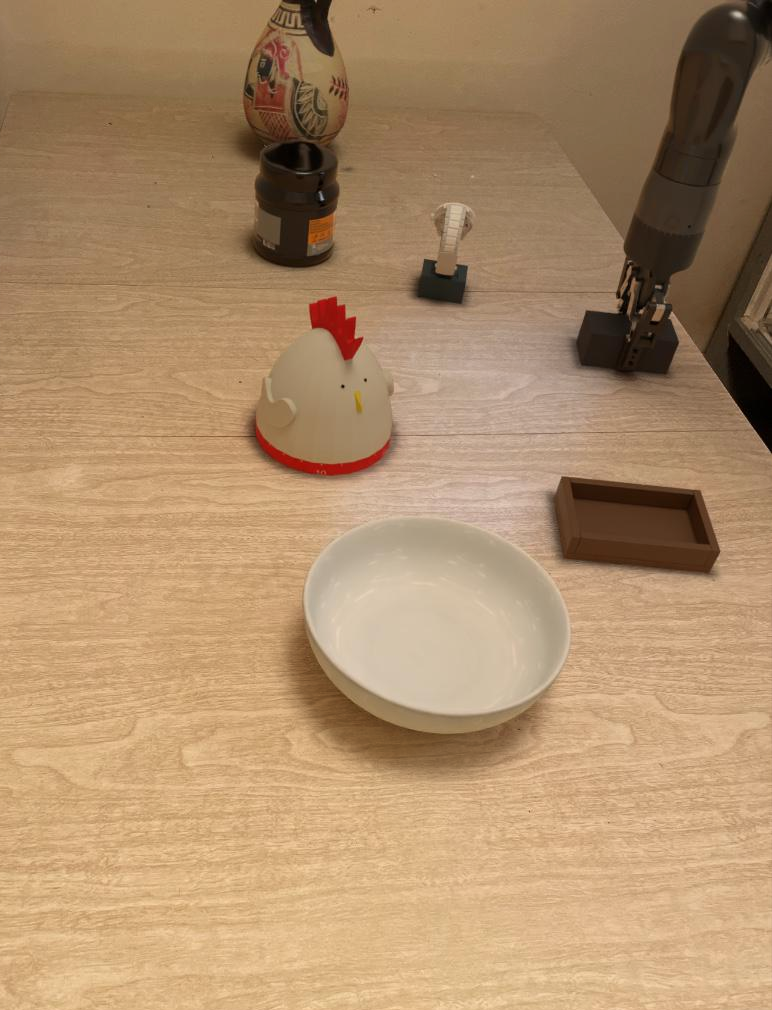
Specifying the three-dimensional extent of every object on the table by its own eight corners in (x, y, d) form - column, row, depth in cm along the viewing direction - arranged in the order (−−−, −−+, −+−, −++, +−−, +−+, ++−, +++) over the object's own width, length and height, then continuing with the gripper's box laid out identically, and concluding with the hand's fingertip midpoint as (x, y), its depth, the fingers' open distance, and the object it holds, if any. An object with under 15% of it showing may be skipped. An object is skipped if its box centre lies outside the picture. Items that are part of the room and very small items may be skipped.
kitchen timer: (297, 492, 92) (308, 357, 81) (231, 413, 100) (234, 280, 89) (415, 453, 98) (441, 322, 87) (345, 381, 105) (360, 252, 94)
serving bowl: (493, 815, 70) (515, 762, 65) (248, 690, 76) (251, 632, 70) (584, 633, 83) (608, 577, 78) (369, 538, 89) (378, 481, 84)
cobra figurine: (464, 281, 123) (481, 196, 115) (460, 313, 117) (478, 226, 109) (420, 274, 123) (435, 189, 115) (414, 305, 118) (429, 218, 110)
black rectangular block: (658, 352, 115) (671, 318, 112) (665, 376, 112) (679, 342, 108) (575, 343, 115) (586, 309, 111) (580, 367, 111) (591, 333, 108)
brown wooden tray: (689, 513, 95) (700, 489, 93) (708, 574, 89) (721, 551, 87) (553, 499, 95) (561, 475, 92) (563, 560, 89) (572, 536, 87)
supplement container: (350, 253, 125) (360, 160, 116) (293, 279, 119) (300, 183, 111) (292, 223, 130) (298, 131, 121) (235, 246, 124) (237, 151, 115)
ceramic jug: (219, 149, 144) (221, -92, 122) (288, 124, 152) (300, -106, 131) (305, 188, 137) (323, -59, 115) (371, 160, 146) (400, -76, 124)
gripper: (722, 251, 96) (664, 394, 108) (693, 188, 105) (642, 326, 118) (648, 243, 95) (598, 387, 108) (625, 181, 105) (581, 320, 118)
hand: (621, 355), depth 113 cm, fingers closed on black rectangular block, 5 cm apart
